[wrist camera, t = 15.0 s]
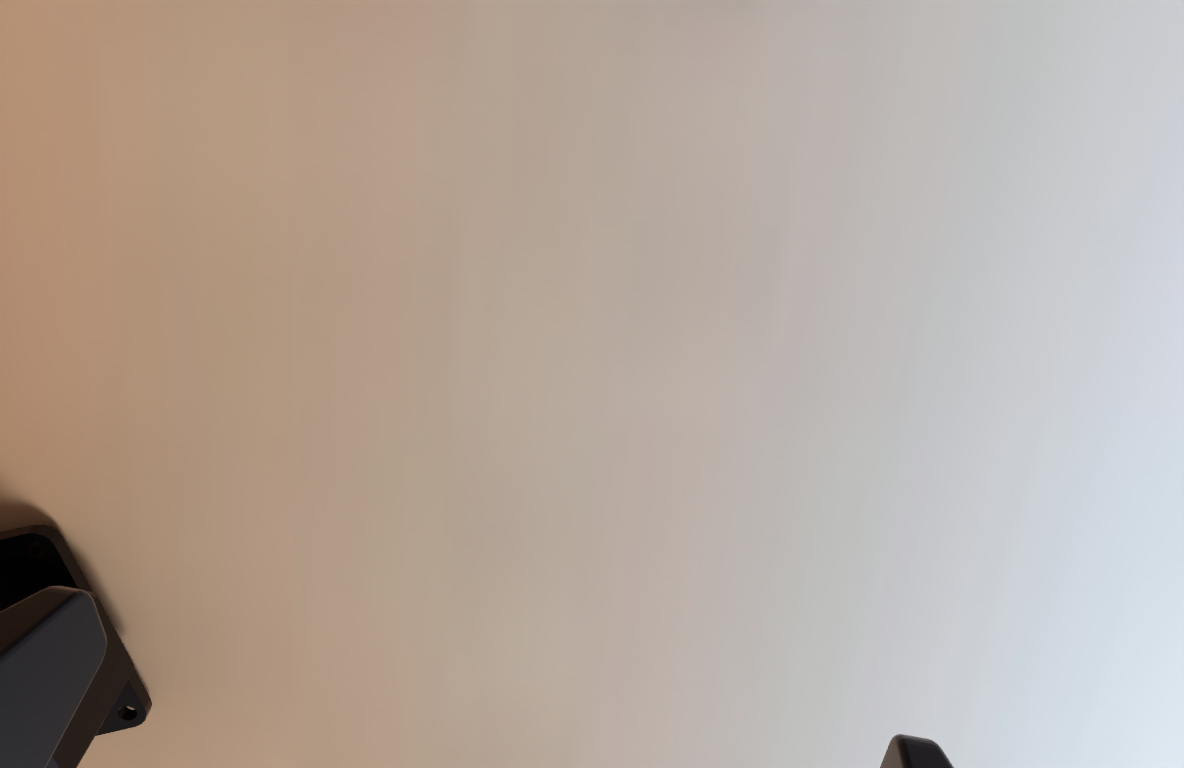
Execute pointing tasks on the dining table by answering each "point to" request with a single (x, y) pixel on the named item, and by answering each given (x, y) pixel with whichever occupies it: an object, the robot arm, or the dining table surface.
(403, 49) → the dining table surface
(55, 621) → the robot arm
